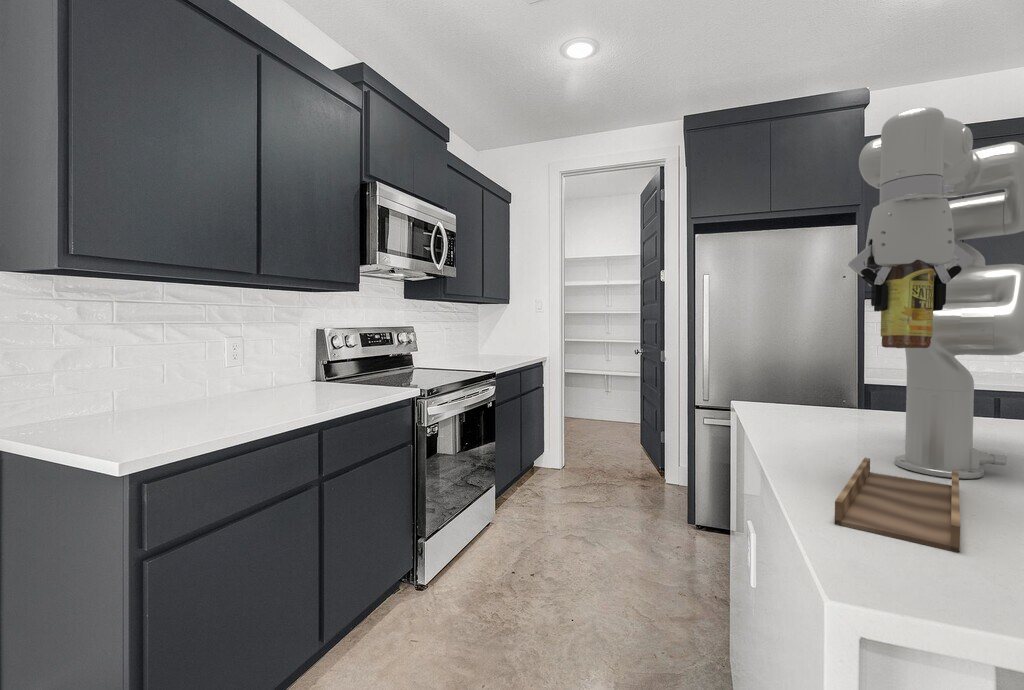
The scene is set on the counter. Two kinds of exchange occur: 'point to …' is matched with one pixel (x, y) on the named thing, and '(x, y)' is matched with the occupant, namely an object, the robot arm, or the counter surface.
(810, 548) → the counter surface
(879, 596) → the counter surface
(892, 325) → the sauce bottle
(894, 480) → the tray
